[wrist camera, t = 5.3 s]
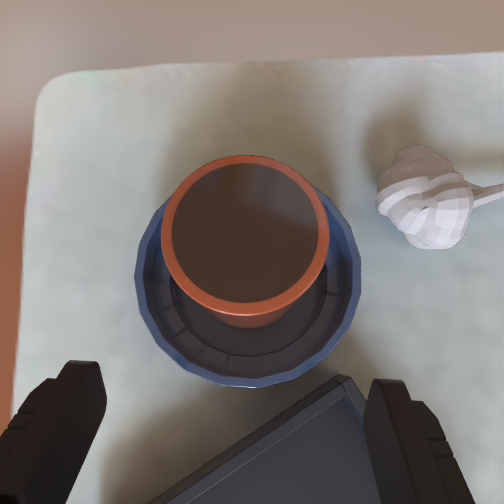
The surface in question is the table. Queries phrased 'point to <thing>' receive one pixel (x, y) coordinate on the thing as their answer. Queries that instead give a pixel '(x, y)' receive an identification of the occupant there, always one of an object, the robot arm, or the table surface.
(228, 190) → the cup
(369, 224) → the table surface
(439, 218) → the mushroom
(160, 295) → the bowl
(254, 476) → the tray
